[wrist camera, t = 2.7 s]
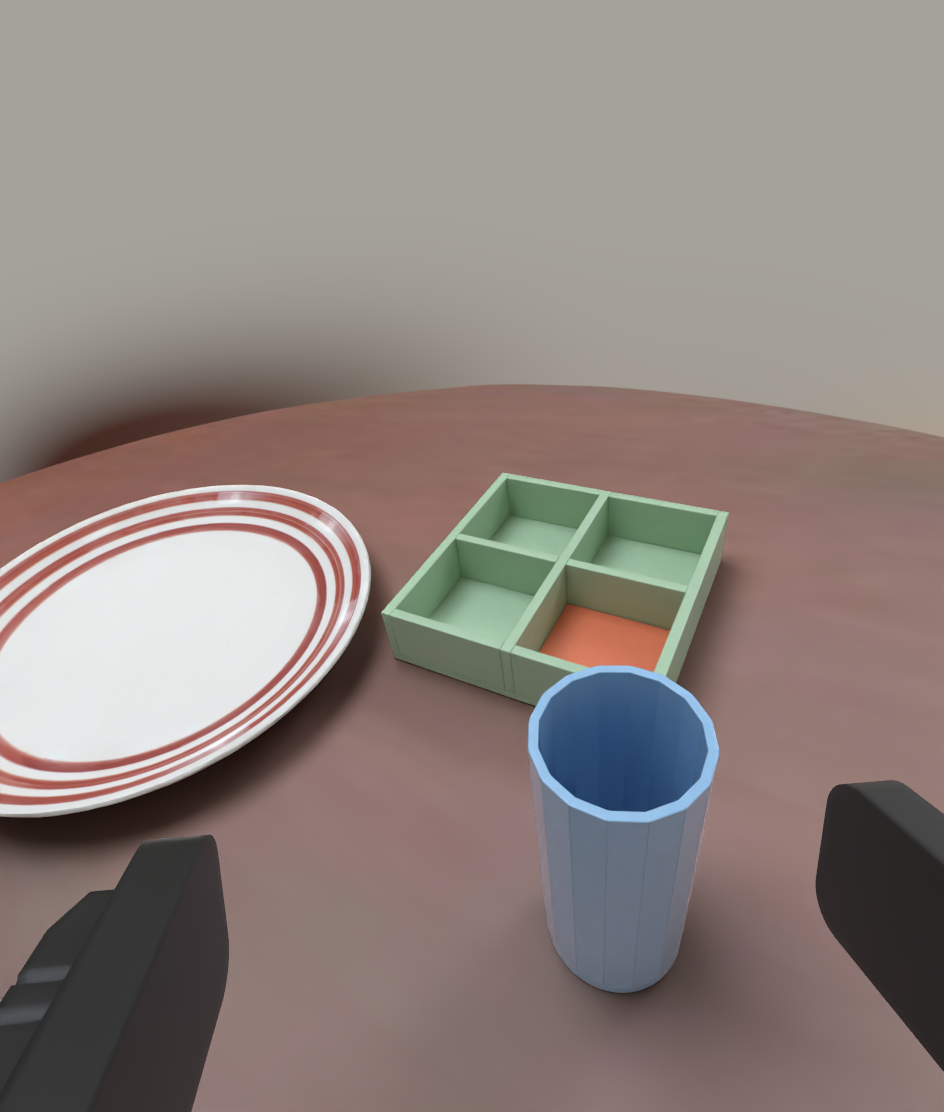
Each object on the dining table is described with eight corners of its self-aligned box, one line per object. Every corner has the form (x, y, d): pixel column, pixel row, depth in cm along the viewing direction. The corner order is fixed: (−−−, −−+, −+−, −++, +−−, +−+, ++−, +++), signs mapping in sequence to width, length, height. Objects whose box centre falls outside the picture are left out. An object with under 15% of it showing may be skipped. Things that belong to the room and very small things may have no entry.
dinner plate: (449, 549, 46) (443, 510, 44) (165, 938, 27) (130, 903, 25) (170, 495, 56) (154, 462, 54) (-171, 748, 38) (-215, 712, 36)
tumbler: (526, 951, 25) (497, 776, 18) (575, 834, 28) (568, 646, 21) (660, 1022, 23) (691, 855, 15) (695, 886, 26) (735, 695, 19)
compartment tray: (393, 657, 38) (380, 612, 36) (506, 514, 48) (502, 472, 46) (652, 747, 31) (657, 698, 29) (721, 559, 41) (728, 512, 39)
